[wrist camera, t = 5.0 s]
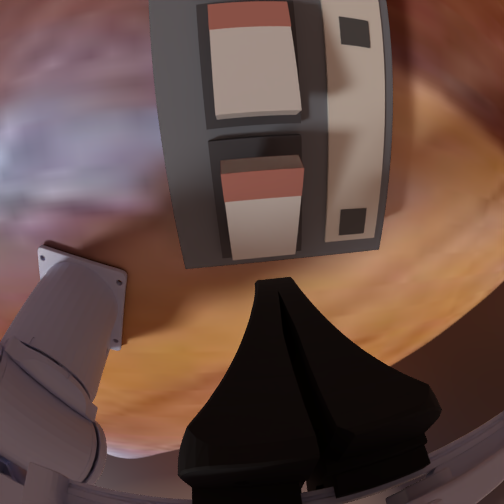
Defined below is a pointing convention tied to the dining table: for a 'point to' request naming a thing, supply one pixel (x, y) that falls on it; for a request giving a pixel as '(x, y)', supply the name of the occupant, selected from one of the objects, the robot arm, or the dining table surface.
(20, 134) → the dining table surface
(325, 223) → the switch panel
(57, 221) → the dining table surface
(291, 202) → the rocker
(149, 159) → the dining table surface
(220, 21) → the rocker middle
